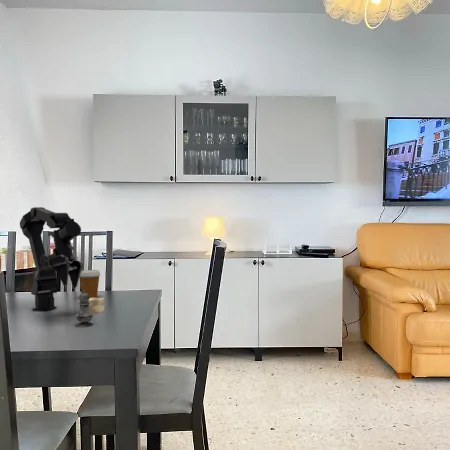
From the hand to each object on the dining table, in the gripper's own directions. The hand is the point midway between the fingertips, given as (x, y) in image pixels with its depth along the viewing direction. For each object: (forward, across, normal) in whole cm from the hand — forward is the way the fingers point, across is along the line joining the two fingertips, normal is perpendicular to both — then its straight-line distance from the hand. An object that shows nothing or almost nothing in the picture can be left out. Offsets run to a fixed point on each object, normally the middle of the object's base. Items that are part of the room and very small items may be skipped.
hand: (70, 286), depth 166 cm
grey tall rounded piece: (+15, +5, +4) cm, 17 cm away
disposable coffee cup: (0, -41, -7) cm, 41 cm away
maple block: (+9, -15, +3) cm, 18 cm away
